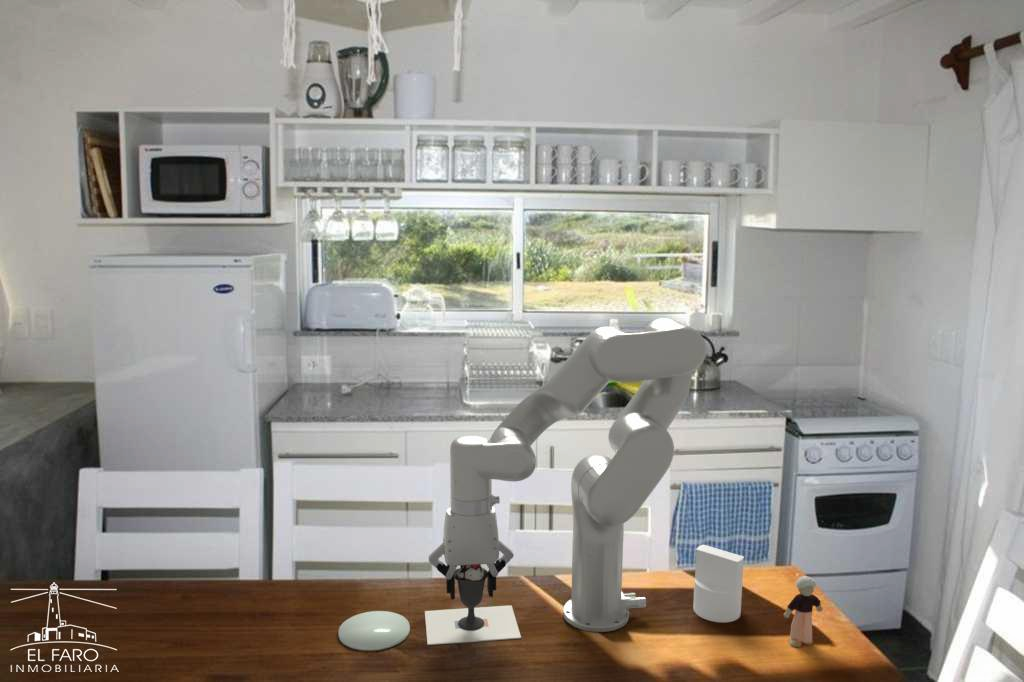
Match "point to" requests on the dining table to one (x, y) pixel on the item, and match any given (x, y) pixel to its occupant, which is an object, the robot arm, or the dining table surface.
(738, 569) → the cylinder with rectangular tab
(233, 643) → the dining table surface
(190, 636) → the dining table surface
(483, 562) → the robot arm
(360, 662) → the dining table surface
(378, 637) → the plate
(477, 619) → the sundae
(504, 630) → the tile
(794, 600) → the grandmother figurine
